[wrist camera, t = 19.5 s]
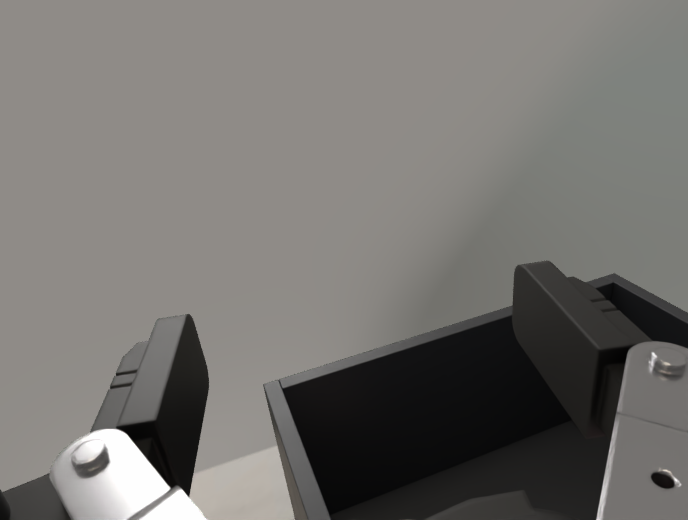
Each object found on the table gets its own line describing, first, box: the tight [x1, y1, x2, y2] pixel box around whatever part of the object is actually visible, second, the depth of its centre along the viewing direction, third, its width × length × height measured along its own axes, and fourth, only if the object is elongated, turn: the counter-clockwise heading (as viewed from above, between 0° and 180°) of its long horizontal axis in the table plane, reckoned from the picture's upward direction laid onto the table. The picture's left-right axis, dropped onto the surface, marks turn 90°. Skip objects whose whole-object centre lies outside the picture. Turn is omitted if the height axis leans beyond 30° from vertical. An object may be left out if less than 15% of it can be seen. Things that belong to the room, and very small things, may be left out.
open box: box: [263, 274, 688, 520], centre depth 24 cm, size 22×15×11 cm
